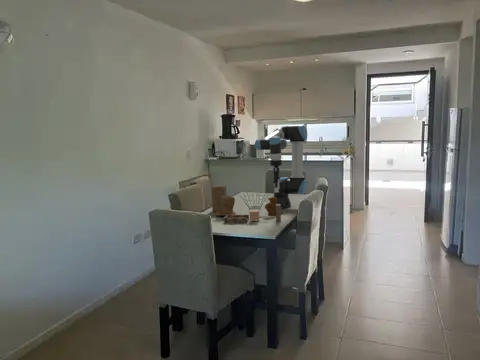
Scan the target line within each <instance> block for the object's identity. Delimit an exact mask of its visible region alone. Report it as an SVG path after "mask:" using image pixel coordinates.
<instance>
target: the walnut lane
mask: <svg viewBox="0 0 480 360" xmlns="http://www.w3.org/2000/svg"><path fill="white" fill-rule="evenodd" d="M249 221H250V214H235V215H226V216H224V218H223V223H224V224H247V223H248V222H249Z"/></svg>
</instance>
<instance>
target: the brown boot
mask: <svg viewBox="0 0 480 360" xmlns="http://www.w3.org/2000/svg"><path fill="white" fill-rule="evenodd" d="M235 201H236V199H235V197H234V196H230V195H227V196H222V197H221V206H222V210H221V211H216V212H213V215H214V216H217V217H225V216H226V215H237V213H236V212H235V211H234V207H235Z"/></svg>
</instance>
